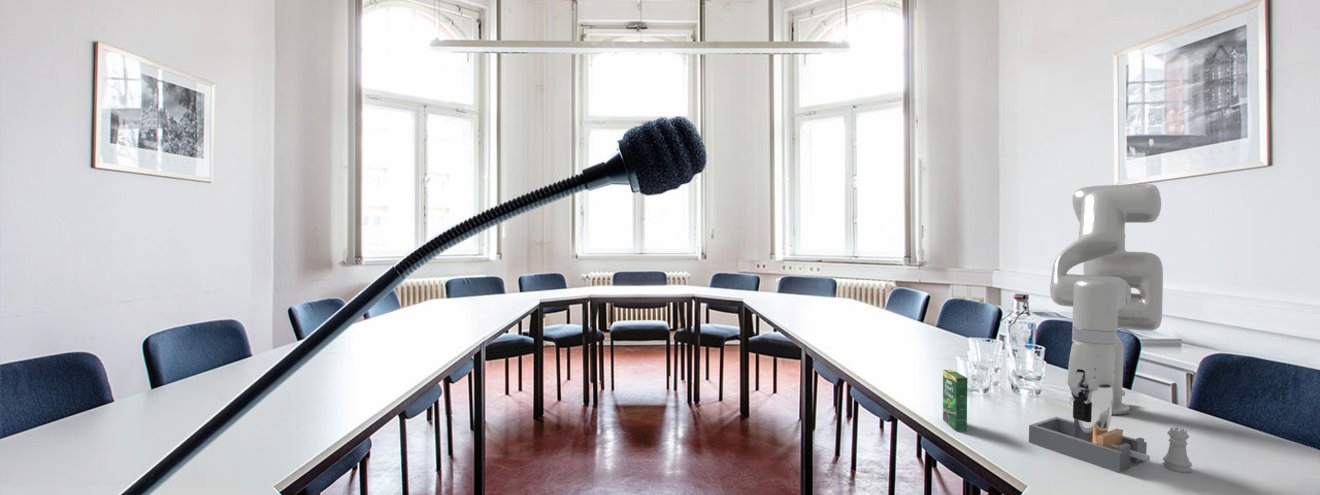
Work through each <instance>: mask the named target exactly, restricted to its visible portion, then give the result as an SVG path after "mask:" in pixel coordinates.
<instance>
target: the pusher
mask: <svg viewBox="0 0 1320 495" xmlns="http://www.w3.org/2000/svg"><path fill="white" fill-rule="evenodd" d="M1123 433H1124V431H1123V429H1120V428H1114V429H1112V430H1110V431H1109V430H1108V432H1106V433H1103V434H1100V435H1098V436H1097V444H1098V445H1101V446H1105V447H1108V448H1111V449H1114V450H1118V446H1119V445H1122V438H1123V436H1124V434H1123ZM1130 456H1131V457H1134V458H1138V459H1141V460H1144V461H1145V462H1149V461H1150V459H1151V457H1150V456H1151V455H1149V454H1147V453H1146V454H1143V453H1139V452H1136V451H1133V450H1130Z"/></svg>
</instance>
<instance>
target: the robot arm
mask: <svg viewBox="0 0 1320 495" xmlns="http://www.w3.org/2000/svg"><path fill="white" fill-rule="evenodd" d="M1071 198H1072V200H1071V201H1072V207H1073V212H1074V214H1075V216H1076V218H1077V220H1078V223H1079V231H1078V238H1077V239H1076V240H1075V241H1073V242H1072V243H1070V244H1069V245H1068V246H1066V247H1065V248H1064V249H1063V250H1062V251H1061V252H1060V253H1058V256H1057V257H1056V258H1055V259H1054V262H1053V264H1052V270H1051V278H1050V285H1049V286H1050V287H1049V291H1050V292H1049V293H1050V298H1051V299H1052V301H1053V302H1054V304H1057V305H1059V306H1063V307H1069V308H1070V307H1072V328H1071V329H1072V331H1071V332H1072V335H1071V341H1072V344H1071V349H1070V353H1069V360H1068V367H1067V368H1068V370H1067V381H1066V382H1067V385H1068V386H1069V389H1070V392H1071V394H1070V395H1071V396H1070V397H1069V404H1071V405H1072V400H1073V411H1072V418H1073V420H1074V419H1077V420H1081V421H1085V422H1088V423H1089V422H1091V417H1092V404H1090V400H1091V396H1092V393H1093V391H1097V390H1098V387H1102V388H1107V387H1109V384H1110V385H1112V386H1113V387H1112V391H1113V411H1112V415H1126V414H1128V413H1129V412H1130V407H1129V406H1128V405H1127V404H1125V403H1123V397H1124V396H1125V395H1126V391H1125V390H1123V378H1124V343H1123V341H1122V340H1121V338H1120V337H1119V336H1118V329H1122V330H1123V329H1124V330H1132V331H1133V330H1134V331H1144V332H1145V331H1146V332H1149V331H1151V332H1152V331H1155V330H1157V329H1158V328H1160V326H1161V324H1162V318H1163V298H1164V297H1163V293H1164V291H1163V289H1164V288H1163V287H1164V285H1163V284H1164V270H1163V263H1162V260H1161V258H1160V257H1159V256H1157V255H1156V254H1154V253H1153V252H1147V251H1145V252H1144V251H1127V250H1126V248H1125V247H1126V232H1125V230H1126V229H1125V228H1126V226H1125V225H1126V223H1128V224H1129V223H1131V224H1132V223H1138V224H1139V223H1143V224H1144V223H1153V222H1156V220H1157V219H1159V217H1160V214H1161V209H1162V198H1161V193H1160V190H1159V188H1158V187H1157V186H1156V185H1155V184H1150V183H1146V184H1145V183H1144V184H1143V183H1141V184H1107V185H1091V186H1085V187H1082V188H1078V189H1077V190H1075V191H1073V195H1072V197H1071ZM1080 264H1083V274H1077V273H1076V274H1074V273H1068V272H1069V271H1070V270H1071V269H1072V268H1074V267H1076V266H1077V265H1080ZM1067 273H1068V274H1067ZM1132 289H1136V290H1138V293H1135V292H1134V293H1133V292H1132ZM1081 385H1087V386H1088V387H1089V388H1083V387H1081ZM1081 391H1084V392H1087V393H1086V396H1085V395H1084V393H1083V392H1081ZM1072 396H1073V397H1072Z"/></svg>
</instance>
